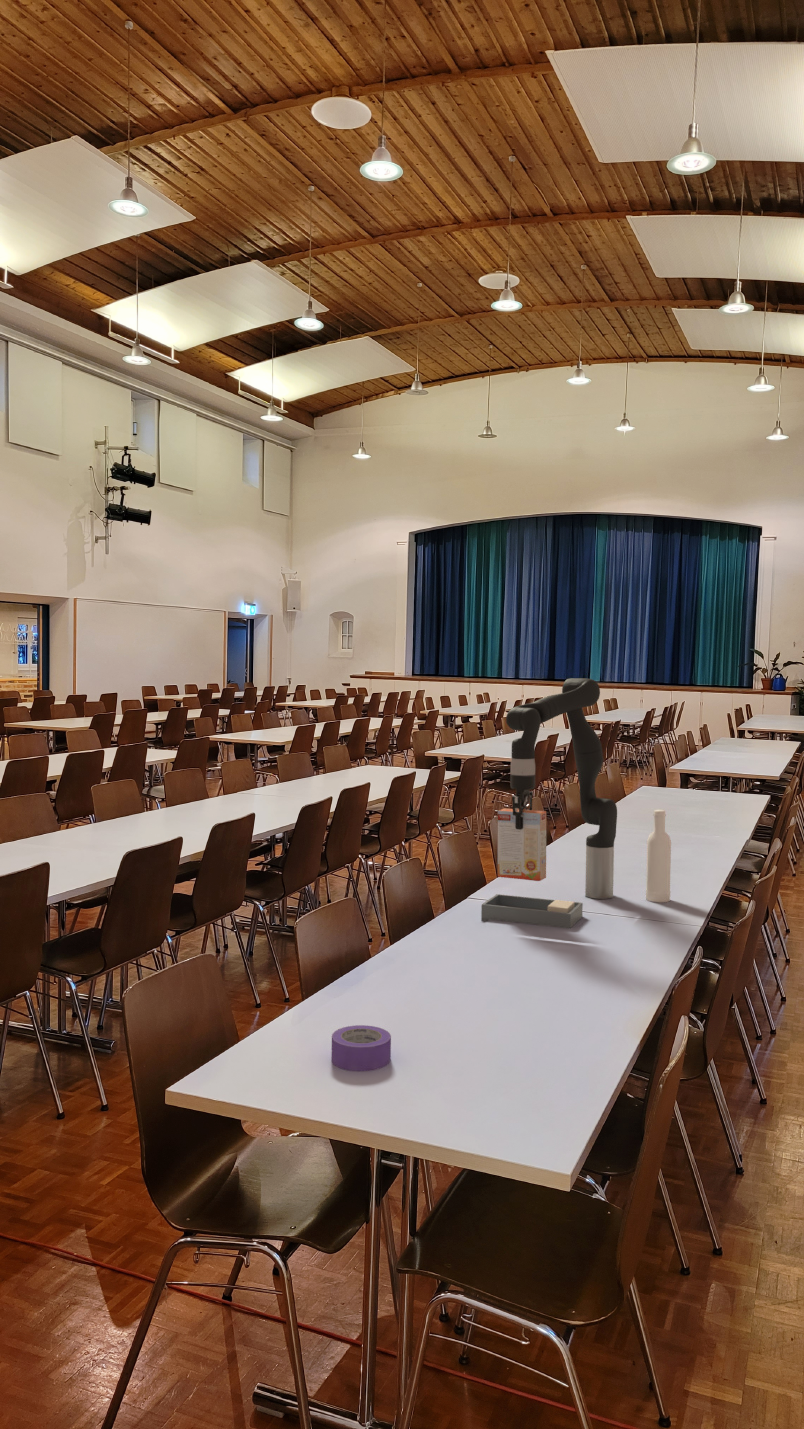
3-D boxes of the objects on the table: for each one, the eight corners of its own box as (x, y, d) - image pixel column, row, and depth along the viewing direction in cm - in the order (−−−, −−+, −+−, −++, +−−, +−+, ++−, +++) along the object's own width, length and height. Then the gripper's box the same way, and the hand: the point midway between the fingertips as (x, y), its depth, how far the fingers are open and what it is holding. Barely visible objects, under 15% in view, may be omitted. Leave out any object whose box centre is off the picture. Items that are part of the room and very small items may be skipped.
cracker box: (546, 878, 308) (547, 810, 306) (540, 882, 302) (540, 813, 301) (504, 873, 314) (504, 807, 313) (496, 877, 309) (497, 809, 307)
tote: (496, 909, 320) (496, 894, 319) (582, 918, 309) (582, 902, 308) (481, 920, 306) (481, 904, 306) (570, 930, 295) (570, 914, 295)
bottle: (668, 897, 337) (670, 808, 336) (672, 903, 330) (674, 812, 328) (644, 896, 338) (645, 808, 337) (647, 902, 330) (649, 811, 329)
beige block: (555, 915, 309) (555, 899, 309) (574, 918, 307) (574, 901, 306) (547, 922, 301) (547, 906, 300) (566, 925, 298) (567, 908, 298)
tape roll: (390, 1048, 205) (390, 1024, 205) (391, 1072, 194) (391, 1046, 193) (332, 1049, 205) (332, 1024, 205) (330, 1072, 193) (330, 1047, 193)
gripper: (528, 776, 298) (527, 832, 299) (541, 771, 311) (540, 824, 312) (503, 774, 301) (503, 830, 302) (517, 770, 314) (517, 823, 315)
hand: (522, 827), depth 307 cm, fingers closed on cracker box, 6 cm apart
